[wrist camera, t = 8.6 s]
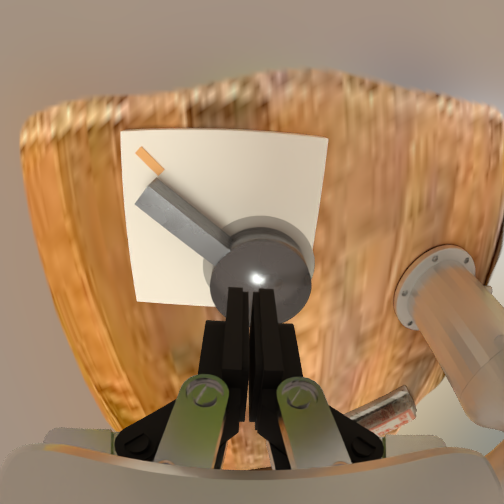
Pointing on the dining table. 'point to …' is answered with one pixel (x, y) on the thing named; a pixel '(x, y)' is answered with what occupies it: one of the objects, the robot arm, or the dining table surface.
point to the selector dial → (235, 253)
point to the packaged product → (386, 412)
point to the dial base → (216, 198)
